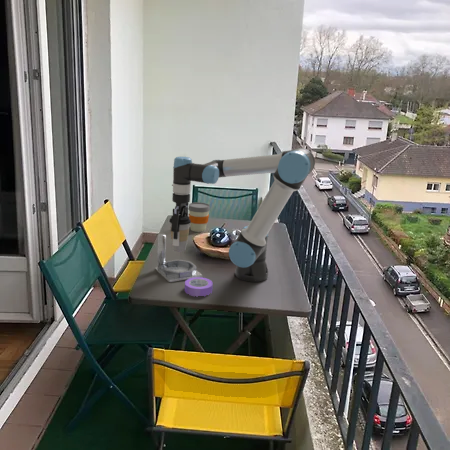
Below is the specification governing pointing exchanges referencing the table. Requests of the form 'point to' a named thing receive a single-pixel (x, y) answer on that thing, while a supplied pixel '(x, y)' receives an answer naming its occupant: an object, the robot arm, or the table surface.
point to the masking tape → (198, 286)
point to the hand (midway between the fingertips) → (179, 242)
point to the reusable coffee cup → (198, 216)
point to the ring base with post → (174, 265)
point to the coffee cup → (181, 233)
